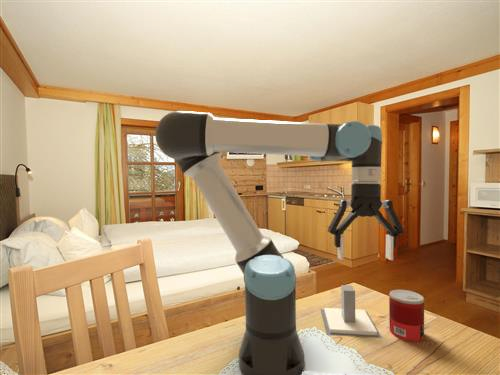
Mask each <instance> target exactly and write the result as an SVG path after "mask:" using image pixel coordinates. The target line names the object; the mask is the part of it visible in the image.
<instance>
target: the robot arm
mask: <svg viewBox="0 0 500 375" xmlns="http://www.w3.org/2000/svg"><path fill="white" fill-rule="evenodd" d="M382 134H383V133H382V128H381V127H380V126H379V125H375V124H367V125H366V124H364V123H363V122H361V121H357V120H356V121H355V120H354V121H353V120H352V121H347V122H344V123H342V124H341V123H340V124H339V123H338V124H337V123H323V122H322V123H321V122H320V123H319V122H318V123H317V122H303V121H302V122H301V121H300V122H299V121H283V120H282V121H281V120H262V119H261V120H259V119H243V118H242V119H240V118H239V119H238V118H223V117H222V118H218V117H215V116H214V115H213V114H212V113H210V112H199V111H198V112H197V111H186V110H184V111H183V110H176V111H172V112H169V113H167V114H165V115H164V116H163V117H162V118H161V119H160V120H159V122H158V123H157V125H156V129H155V133H154V135H155V141H156V144H157V146H158V148H159V150H160V152H162V153H163V154H164V155H165V156H167V157H168V158H170V159H173V160H174V161H175V164H177V165H178V167H179V169H180V171H181V172H182V174H183V176H185V177H189V178H191V179H192V180H193V181H194V183H195V185H196V187H197V188H198V190H199V191H200V193H201V195H202V197H203V198H204V200H205V202H206V203H207V205H208V207H209V208H210V210H211V212H212V213H213V214H214V217H215V218H216V220H217V222H218V223H219V225H220V226H221V228H222V230H223V232H224V233H225V235H226V236H227V238H228V240H229V241H230V244H231V245H232V246H233V248H234V250H235V251H236V253H235V257H234V260H235V262H236V264H237V266H238V268H239V269H240V271H241V272H242V274H243V283H244V301H245V302H244V305H245V308H244V310H245V331H244V334H243V336H242V341H241V343H240V344H241V345H240V347H239V351H238V365H239V369H240V370H241V373H242V374H243V375H302V374H303V372H304V367H305V353H304V349H303V346H302V342H301V339H300V337H299V335H298V331H297V309H296V308H297V307H296V306H297V304H296V303H297V302H296V300H297V299H296V297H297V296H296V289H297V288H296V284H297V275H296V269H295V265H294V264H293V263H292V261H290V260H289V259H287V258H286V257H285V258H284V256H283V255H282V253H281V252H280V251H279V250H278V249H277V247H276V245H275V243H274V241H273V240H272V238H271V237H270V236H266V235H263V234H262V232H261V230H260V228H259V227H258V225H257V223H256V222H255V221H254V218H253V217H252V215H251V214H250V212H249V210H248V209H247V207H246V205H245V203H244V202H243V200H242V198H241V197H240V195H239V193H238V191H237V190H236V189H235V186H234V185H233V184H232V182H231V180H230V178H229V177H228V175H227V173H226V172H225V170H224V168H223V166H222V165H221V162H220V160H221V156H222V155H221V153H237V154H257V155H258V154H259V155H276V156H277V155H279V156H280V155H281V156H282V155H283V156H300V157H301V156H303V157H308V158H309V159H310V160H311V161H312V162H320V163H322V162H351V182H353V183H352V184H351V191H350V192H351V193H350V194H351V195H350V196H351V199H350V200H344V199H340V200H339V205H338V209H337V210H336V212H335V215H334V217H333V218H332V220H331V223H329V226H328V227H327V228H328V229H327V232H328V233H330V234H331V235H333V236H334V239H333V240H334V242H333V244H334V246H335V247H336V248H337V258H338V259H339V260H340V261H344V241H345V239H344V235H343V233H344V232H345V231H346V230H347V229H348V228H349V227H350V225H351V224H352V223H353V222H354V221H355V219H357V218H359V217H369V218H370V217H372V218H373V217H374V218H375V219H376V220H377V221H378V223H380V225H381V226H382V227H383V228H384V230H386V232H387V233H388V234H385V259H388V260H390V261H394V248H396V247H397V238H398V237H399V236H400V235H403V234H404V233H405V231H404V229H403V226H402V224H401V222H400V220H399V218H398V215H397V214H396V212H395V209H394V204H393V201H392V200H390V199H384V200H381V197H382V196H381V195H382V185H381V183H380V182H381V181H382V149H383V148H382V146H383V137H382V136H383V135H382ZM349 207H351V210H350V212H349V213H348V214H347V216H346V217H345V218H344V219H343V216H344V215H345V213H346V210H347V209H348V208H349ZM381 208H383V209H384V211H385V213H386V215H387V217H388V219H389V221H390V223H389V221H388V220H387V219H386V218H385V217H384V215H383V213H382V212H381V211H380V209H381ZM342 219H343V220H342ZM340 222H341V223H340Z"/></svg>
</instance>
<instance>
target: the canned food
mask: <svg viewBox="0 0 500 375" xmlns="http://www.w3.org/2000/svg"><path fill="white" fill-rule="evenodd" d="M388 298H389V302H388V304H389V309H388V311H389V317H388V318H389V319H388V320H389V321H388V322H389V332H390V333H391V335H393V336H395V337H396V338H398V339H401V340H403V341H407V342H416V343H417V342H421V341H423V340H424V339H425V298H424V296H423V295H421V294H419V293H418V292H414V291H413V290H406V289H394V290H393V289H392V290H391V291H389V296H388Z"/></svg>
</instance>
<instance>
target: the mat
mask: <svg viewBox="0 0 500 375" xmlns="http://www.w3.org/2000/svg"><path fill="white" fill-rule="evenodd" d="M319 311H320V313H321V314H320V315H321V318H322V322H323V325H324V329H325V334H326V336H338V337H354V338H357V337H358V338H359V337H360V338H374V339H376V338H377V339H383V336H382V335H381V333H380V332H379V330H378V328H377V326H376V324H375V323H374V322H373V321H374V320H372V318H371V315H370V314H369V312H368V311H366V310H365V312H366V313H367V315H368V317H369V319H370V320H371V322H372V324H373V326H374V327H375V329H376V331H377V335H360V334H342V333H330V331H329V327H328V324H327V320H326V316H325V313H324V309H319Z"/></svg>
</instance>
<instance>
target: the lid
mask: <svg viewBox="0 0 500 375" xmlns="http://www.w3.org/2000/svg"><path fill="white" fill-rule="evenodd" d="M340 286H341V288H340V291H341V292H340V295H341V298H340V299H341V300H340V304H341V305H340V306H341V307H340V308H336V307H335V308H333V307H332V308H331V307H323V310H324V313H325V316H326V320H327V324H328V327H329V331H330V333H342V334H360V335H377V331H376V329H375V327H374V326H373V324H372V322H371V320H370V319H369V317H368V315H367V313H366V312H365V311H366V310H365V309H357V308H356V291H355V288H354V287H353V285H351V284H349V285H348V284H341V285H340Z"/></svg>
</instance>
